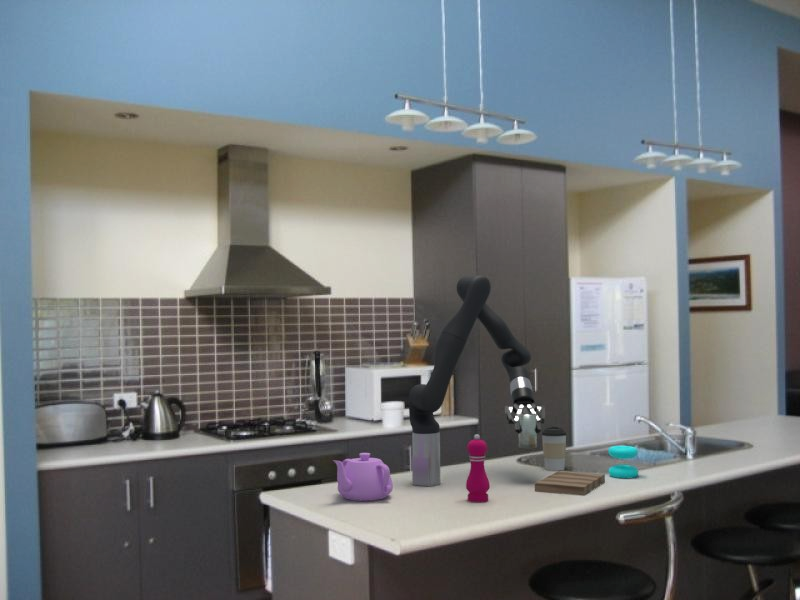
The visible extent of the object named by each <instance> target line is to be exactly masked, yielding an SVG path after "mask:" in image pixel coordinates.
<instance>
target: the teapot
mask: <svg viewBox="0 0 800 600" xmlns="http://www.w3.org/2000/svg"><path fill="white" fill-rule="evenodd" d="M358 455H359V457H357V458H346V459H343V460H342V461H340V460H336V459H335V460H334V459H332V462H334V463H335V464H336V469H337V473H336V475H337V476H336V480H337V492H338V493H339V494H340V495H341V497H343V498H344V499H345V500H348V501H349V500H350V501H359V502H360V501H361V502H367V503H368V502H370V501H377V500H381V499H385V498H387V497H389V495H390V494H391V493H392V491H393V488H394V485H393V478H392V477H391V472H390V467H389V466H388V465H387V464H385V463H384V462H383V460H381V458H376V457H371V453H369V452H360V453H359V454H358Z"/></svg>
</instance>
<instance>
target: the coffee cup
mask: <svg viewBox="0 0 800 600" xmlns="http://www.w3.org/2000/svg"><path fill="white" fill-rule="evenodd" d="M567 436H568V435H567V431H566V430H564V428H560V427H559V426H550V427H545V428H544V430H543V431H542V430H541V439H542V452H543V454H542V455H543V459H544V460H543V462H544V469H545V470H546V471H552V472H553V471H554V472H558V471H564V470H565V467H566V466H565V464H566V463H565V462H566V454H567V452H566V451H567V441H566V440H567Z"/></svg>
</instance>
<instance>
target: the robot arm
mask: <svg viewBox="0 0 800 600" xmlns="http://www.w3.org/2000/svg"><path fill="white" fill-rule="evenodd" d="M491 288H492V285H491V282H490V279H489V278H488V277H487V276H486V275H485V276H484V275H478V274H477V275H466V276H462V277H461V278H459V280H458V281H457V283H456V293H457V296H459V298H460V299H461V300H462V302H463V303H462V305H461V306H460V308H459V310H458V311H457V312H456V313H455V314H454V315H453V317H451V319H450V320H449V321H448V322H447V323H446V325H445V326H444V327H443V328H442V330H441V333H440V335H439V337H438V339H437V341H436V344H435V348H434V365H433V369H432V373H431V374H430V377H429V379H428V381H427V383H426V384H423V383H422V384H416V385H414V386H413V387H412V388H411V389H410V391H409V393H408V395H409V396H408V412H409V413H408V415H409V416H408V417H409V423H410V425H411V426H410V427H411V431H412V432H411V434H412V439H411V440H412V457H411V465H412V467H411V468H412V470H411V472H412V475H411V476H412V481H411V482H412V486H420V487H432V486H438V485H440V484H441V444H440V443H441V435H440V434H441V433H440V430H441V429H440V423H439V422H438V421H437V420H436V418H435V417H434V413H436V412H438V411H439V410H440V408H441V407H442V406H443V403H444V401H445V398H446V394H447V393H448V392H447V391H448V388H449V385H450V381H451V379H452V376H453V374H454V371H455V369H456V367H457V365H458V362H459V360H460V357H461V355H462V353H463V351H464V349H465V347H466V344H467V342H468V338H469V336H470V334H471V332H472V329H473V327H474V325H475V322H476V321H477V319H478V321H479V322H480V323H481V324H482V326H483V327H484V328H485V329H486V331H487V333H488V334H489V336H490V338H491V339H492V340H493V342H494V344H495V345H496V347H497V348H498V349H499V350H507V351H505V352H503V353H502V354H501V357H500V358H501V359H500V361H501V364H502V365H503V367H504V369H505V371H506V373H507V376H508V379H509V386H510V387H509V389H510V395H511V401H512V402H511V403H512V406H509V405H505V406H504V414H505V418H506V420H507V424H509V425H511V424H512V425H513V426H514V427H513V428H514V431H515V433H516V434H518V435H519V434H520V426H519V421H518V414H519V413H536V421H537V434H540V433H542V426H541V424H545V420H546V406H545V405H543V404H542V405H541V406H537V405H536V402H535V398H534V392H533V391H534V390H533V386H532V384H531V379H530V373H529V371H528V370H529V369H527V367H525V366H527V364H529V363H530V362H531V360H532V356H531V352H530V350H529V349H528V348H527V347H526V346H525V345H524V344H523V343H522V342H521V341H519V340H518V338H517V337H515V335H514V334H513V332H512V331H511V329H510V327H509V325H507V323H506V322H505V320H503V318H502V317H501V316H500V315H498V313H497V312H495V311H494V310H493V309H492V307H490V306H489V305H488V304H487V303H486V302H487V300H488V299H489V296H490V295H491V294H490V293H491ZM509 349H510V350H509ZM512 412H513V413H514V414H515V418H513V416H512ZM537 412H538V413H539V414H540V417H539V415H538V414H537Z"/></svg>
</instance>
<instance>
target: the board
mask: <svg viewBox="0 0 800 600" xmlns="http://www.w3.org/2000/svg"><path fill="white" fill-rule="evenodd" d="M605 482H606V475H605V474H603V473H590V472H576V471H564V470H560V471H555V472H553V473H551V474H550V475H548V476H546V477H544V478H542V479H540V480H538V481H536V482H535V483H534V491H535V492H541V493H542V492H543V493H551V494H552V493H554V494H562V493H563V494H566V495H577V496H586V495H587V494H588V493H591V492H592V491H593V490H595V489H596V488H598V487H599V486H600V484H601V485H602V484H604V483H605ZM597 486H598V487H597ZM594 488H595V489H594ZM591 490H592V491H591Z"/></svg>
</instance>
